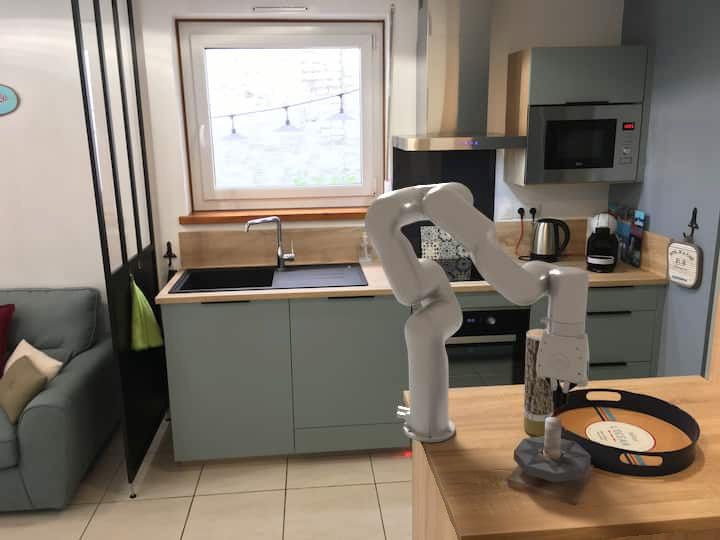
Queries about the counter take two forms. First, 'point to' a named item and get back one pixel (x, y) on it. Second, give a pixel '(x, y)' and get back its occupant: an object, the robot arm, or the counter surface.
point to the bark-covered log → (535, 389)
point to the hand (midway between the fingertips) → (559, 406)
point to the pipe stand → (554, 490)
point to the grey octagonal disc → (552, 460)
